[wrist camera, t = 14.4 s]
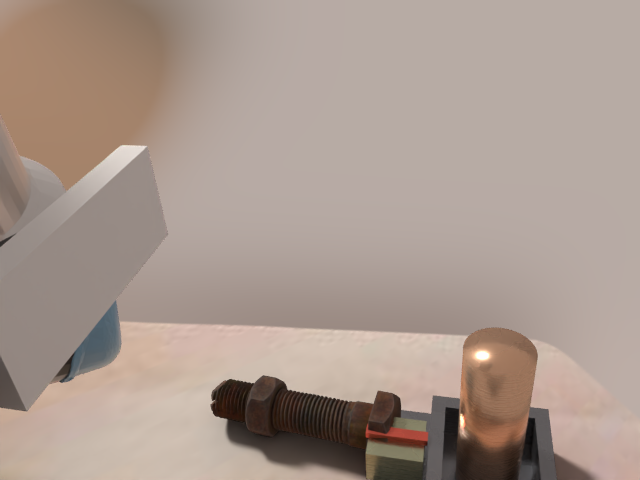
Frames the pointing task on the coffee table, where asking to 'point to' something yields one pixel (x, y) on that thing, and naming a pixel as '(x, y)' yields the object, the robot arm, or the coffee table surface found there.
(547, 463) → the grey box on baseplate
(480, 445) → the pipe stub
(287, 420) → the bolt
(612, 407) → the coffee table surface
